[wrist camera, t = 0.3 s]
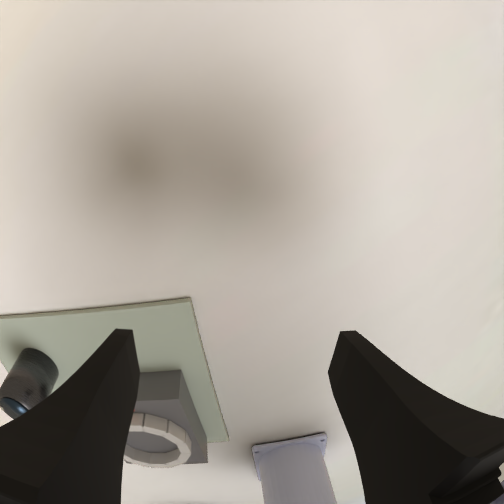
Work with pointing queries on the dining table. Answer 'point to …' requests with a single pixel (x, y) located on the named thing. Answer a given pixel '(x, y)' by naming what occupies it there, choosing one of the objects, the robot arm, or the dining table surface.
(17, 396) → the lens
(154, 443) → the camera body
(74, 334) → the mat
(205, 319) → the dining table surface
